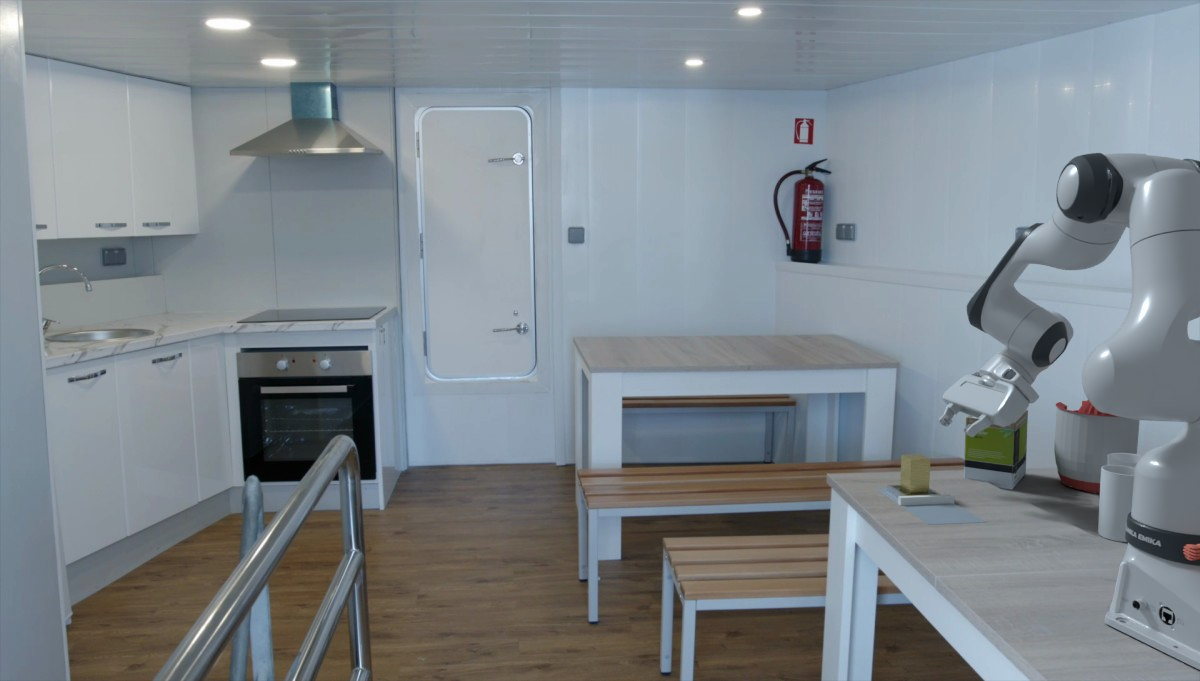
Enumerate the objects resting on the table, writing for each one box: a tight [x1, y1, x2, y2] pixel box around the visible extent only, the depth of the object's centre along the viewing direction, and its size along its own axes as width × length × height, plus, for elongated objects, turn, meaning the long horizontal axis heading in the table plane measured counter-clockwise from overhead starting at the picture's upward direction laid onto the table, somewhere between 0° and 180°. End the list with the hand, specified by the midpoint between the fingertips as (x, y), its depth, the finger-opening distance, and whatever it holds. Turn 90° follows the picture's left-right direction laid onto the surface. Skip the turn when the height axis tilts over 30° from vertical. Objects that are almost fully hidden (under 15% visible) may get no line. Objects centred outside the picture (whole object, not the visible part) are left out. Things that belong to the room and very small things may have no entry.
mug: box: [1097, 465, 1135, 543], centre depth 153 cm, size 10×7×12 cm, turn 150°
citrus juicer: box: [1053, 399, 1141, 494], centre depth 182 cm, size 16×17×20 cm
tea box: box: [963, 409, 1029, 490], centre depth 187 cm, size 15×10×15 cm
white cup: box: [1107, 453, 1144, 468], centre depth 168 cm, size 8×8×10 cm
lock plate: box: [875, 487, 987, 526], centre depth 167 cm, size 22×11×2 cm, turn 7°
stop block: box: [899, 453, 931, 495], centre depth 172 cm, size 4×4×8 cm
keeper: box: [886, 484, 942, 498], centre depth 173 cm, size 8×8×1 cm
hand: (954, 429), depth 172 cm, fingers open, 8 cm apart
